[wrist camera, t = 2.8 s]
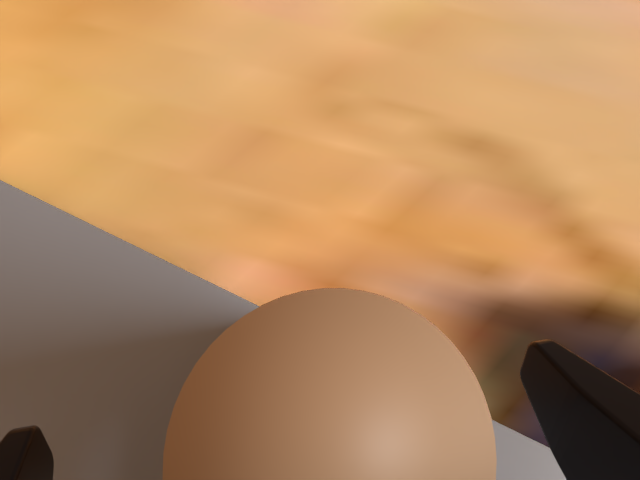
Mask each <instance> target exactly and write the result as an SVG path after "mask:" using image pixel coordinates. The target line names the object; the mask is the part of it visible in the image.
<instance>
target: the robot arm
mask: <svg viewBox="0 0 640 480" xmlns="http://www.w3.org/2000/svg"><path fill="white" fill-rule="evenodd" d="M520 375H521V380H522V383H523V386H524V388H525V390H526V393H527V395H528V398H529V400H530V402H531V405H532V407H533V409H534V412H535V414H536V416H537V419H538V421H539V424H540V426H541V428H542V431H543V433H544V435H545V438H546V440H547V442H548V445H549V447H550V449H551V451H552V453H553V455H554V457H555V459H556V461H557V463H558V465H559V467H560V469H561V470H562V472H563V474H564V476H565V478H566V480H640V394H639V393H637V392H636V391H634V390H633V389H631V388H629V387H628V386H626V385H625V384H623V383H621V382H620V381H618V380H616V379H615V378H613V377H612V376H610V375H608V374H607V373H605V372H604V371H602V370H600V369H599V368H597V367H595V366H594V365H592V364H591V363H589V362H587V361H586V360H584V359H583V358H581V357H579V356H578V355H576V354H574V353H573V352H571V351H570V350H568V349H566V348H565V347H563V346H562V345H560V344H558V343H557V342H555V341H553V340H549V339H547V340H540V341H534V342H531V343H530V344H529V345H528V347H527V351H526V354H525V357H524V360H523V363H522V366H521V371H520ZM53 471H54V459H53V454H52V451H51V449H50V447H49V445H48V443H47V441H46V439H45V437H44V435H43V433H42V431H41V429H40V428H39V427H38V426H36V425H32V426H26V427H20V428H15V429H12V430H10V431H9V432H8V433H7V434H6V435H5V436H4V437H3V439H2V440H1V441H0V480H53Z"/></svg>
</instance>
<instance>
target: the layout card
mask: <svg viewBox="0 0 640 480" xmlns="http://www.w3.org/2000/svg"><path fill="white" fill-rule="evenodd" d="M258 307H259V306H257V305H255V304H253V303H251V302H249V301H247V300H245V299H243V298H241V297H239V296H237V295H235V294H233V293H231V292H229V291H226V290H224V289H222V288H220V287H218V286H216V285H214V284H212V283H210V282H208V281H206V280H204V279H202V278H200V277H198V276H196V275H194V274H192V273H190V272H187V271H185V270H183V269H181V268H179V267H177V266H175V265H173V264H171V263H169V262H167V261H165V260H163V259H161V258H159V257H157V256H155V255H153V254H151V253H148V252H146V251H144V250H142V249H140V248H138V247H136V246H134V245H132V244H130V243H128V242H126V241H124V240H122V239H120V238H118V237H116V236H114V235H112V234H109V233H107V232H105V231H103V230H101V229H99V228H97V227H95V226H93V225H91V224H89V223H87V222H85V221H83V220H81V219H79V218H77V217H75V216H73V215H70V214H68V213H66V212H64V211H62V210H60V209H58V208H56V207H54V206H52V205H50V204H48V203H46V202H44V201H42V200H40V199H38V198H36V197H34V196H32V195H29V194H27V193H25V192H23V191H21V190H19V189H17V188H15V187H13V186H11V185H9V184H7V183H5V182H3V181H1V180H0V441H1V440H2V439H3V437H4V436H5V435H6V434H7V433H8V432H9V431H10V430H12V429H15V428H20V427H26V426H32V425H36V426H38V427H39V428H40V429H41V431H42V433H43V435H44V437H45V439H46V441H47V443H48V445H49V447H50V449H51V451H52V454H53V459H54V471H53V480H163V453H164V447H165V440H166V434H167V429H168V425H169V422H170V418H171V415H172V412H173V408H174V405H175V403H176V401H177V398H178V396H179V394H180V391H181V389H182V387H183V385H184V383H185V381H186V379H187V378H188V376H189V374H190V373H191V371H192V369H193V368H194V366H195V364H196V363H197V361H198V360H199V359H200V358H201V356H202V355H203V354H204V353H205V351H206V350H207V349H208V347H209V346H210V345H211V344H212V343H213V342H214V341H215V340H216V339H217V338H218V337H219V336H220V335H221V334H222V333H223V332H224V331H225V330H226V329H227V328H229V327H230V326H231V325H233V324H234V323H235V322H236V321H238V320H239V319H240V318H242V317H243V316H244V315H246V314H248V313H250V312H251V311H253V310H255V309H256V308H258ZM492 425H493V430H494V435H495V444H496V458H497V464H496V480H566V478H565V476H564V474H563V472H562V470H561V469H560V467H559V465H558V463H557V461H556V459H555V457H554V455H553V453H552V451H551V449H550V448H549V447H547V446H545V445H542V444H540V443H538V442H536V441H534V440H532V439H530V438H528V437H526V436H524V435H522V434H520V433H518V432H516V431H514V430H512V429H510V428H508V427H506V426H503V425H501V424H499V423H497V422H495V421H493V420H492Z"/></svg>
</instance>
